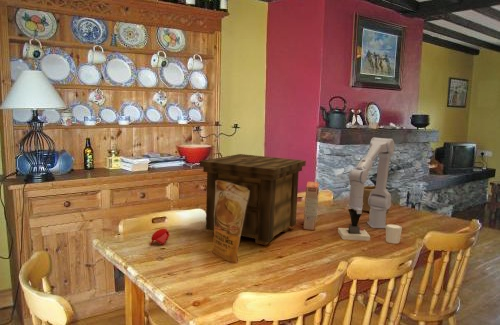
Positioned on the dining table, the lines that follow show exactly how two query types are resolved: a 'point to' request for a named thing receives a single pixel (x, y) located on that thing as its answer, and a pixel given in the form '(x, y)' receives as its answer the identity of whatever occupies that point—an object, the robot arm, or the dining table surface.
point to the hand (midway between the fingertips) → (354, 225)
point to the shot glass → (393, 233)
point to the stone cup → (365, 197)
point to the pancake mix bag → (229, 218)
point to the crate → (258, 192)
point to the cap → (160, 236)
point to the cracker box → (311, 205)
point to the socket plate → (347, 236)
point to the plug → (354, 229)
